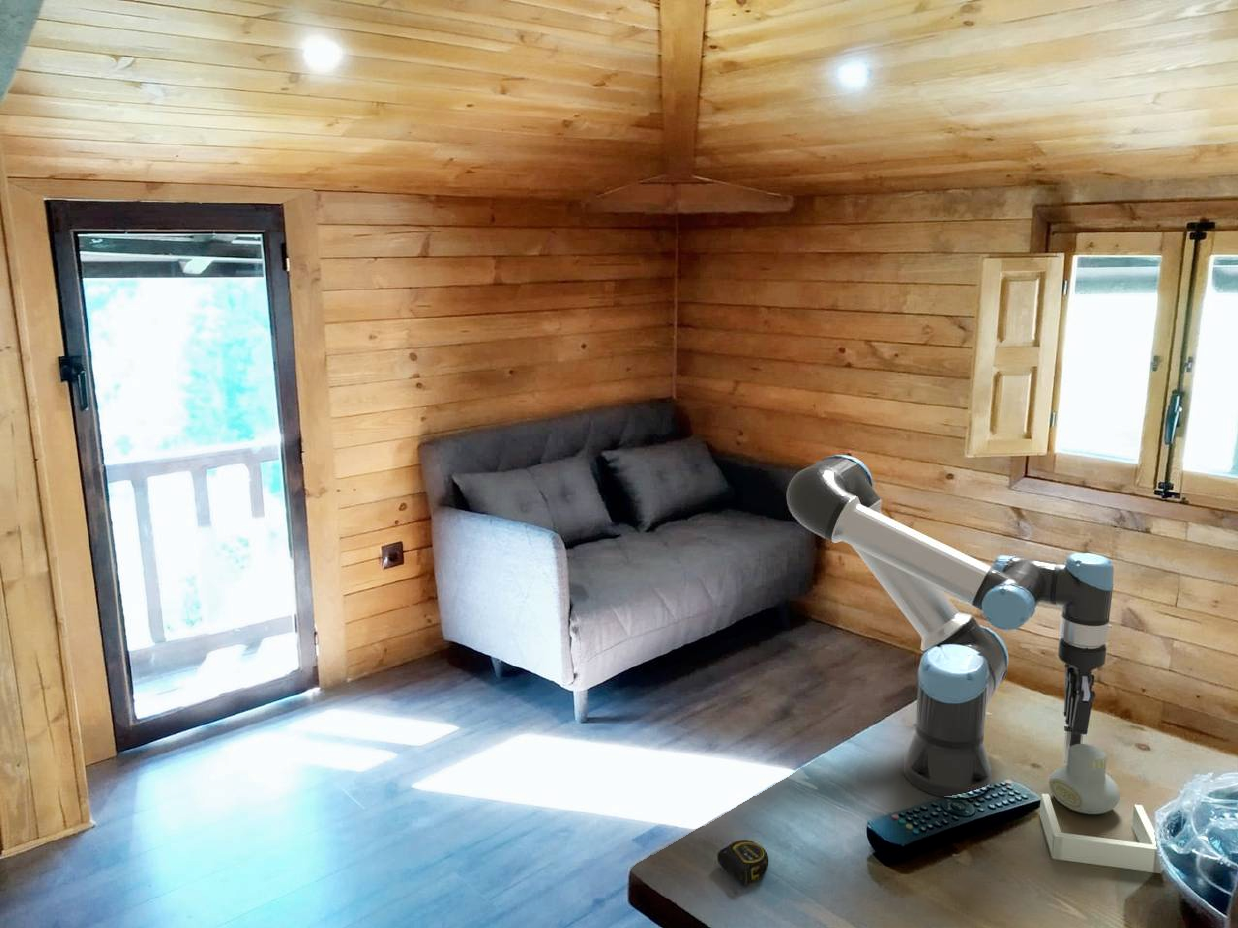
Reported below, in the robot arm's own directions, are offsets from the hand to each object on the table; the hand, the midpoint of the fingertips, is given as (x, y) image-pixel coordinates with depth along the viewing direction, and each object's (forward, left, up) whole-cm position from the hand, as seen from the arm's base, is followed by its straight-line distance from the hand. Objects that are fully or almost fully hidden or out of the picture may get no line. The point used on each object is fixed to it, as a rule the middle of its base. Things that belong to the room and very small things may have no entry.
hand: (1071, 760), depth 171 cm
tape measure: (-55, -43, -3) cm, 69 cm away
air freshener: (0, -10, -3) cm, 11 cm away
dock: (0, -21, -2) cm, 22 cm away
